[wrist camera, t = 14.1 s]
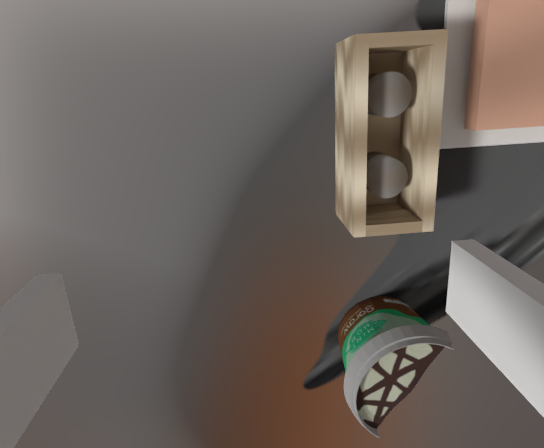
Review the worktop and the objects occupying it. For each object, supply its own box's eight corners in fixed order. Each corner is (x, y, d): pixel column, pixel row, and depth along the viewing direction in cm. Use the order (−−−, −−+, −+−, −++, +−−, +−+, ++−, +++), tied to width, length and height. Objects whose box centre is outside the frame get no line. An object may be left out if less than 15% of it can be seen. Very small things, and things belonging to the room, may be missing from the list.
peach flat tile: (478, -96, 33) (500, -113, 30) (594, -100, 34) (626, -118, 31) (458, 127, 39) (475, 130, 36) (557, 121, 39) (582, 123, 37)
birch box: (334, 44, 36) (355, 33, 30) (410, 40, 37) (448, 29, 30) (335, 213, 41) (354, 237, 35) (402, 208, 42) (433, 231, 35)
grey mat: (454, -123, 33) (457, -126, 32) (617, -128, 34) (622, -131, 33) (435, 148, 40) (437, 149, 39) (570, 139, 41) (574, 139, 40)
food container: (368, 265, 43) (404, 314, 34) (412, 291, 45) (458, 345, 35) (306, 350, 46) (322, 417, 37) (348, 372, 48) (375, 442, 38)
